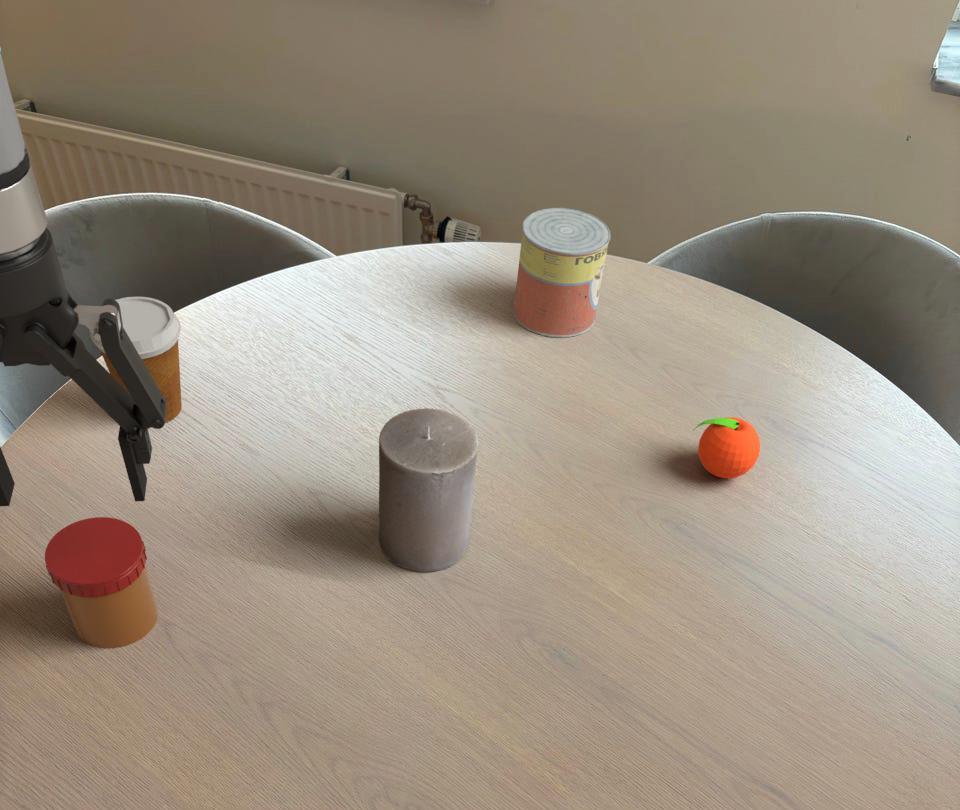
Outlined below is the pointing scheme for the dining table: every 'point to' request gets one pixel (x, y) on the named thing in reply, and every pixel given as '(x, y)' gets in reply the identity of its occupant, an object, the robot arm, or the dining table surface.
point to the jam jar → (115, 615)
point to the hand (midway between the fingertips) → (74, 492)
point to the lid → (95, 557)
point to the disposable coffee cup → (153, 346)
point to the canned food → (560, 271)
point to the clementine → (728, 447)
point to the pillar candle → (426, 488)
